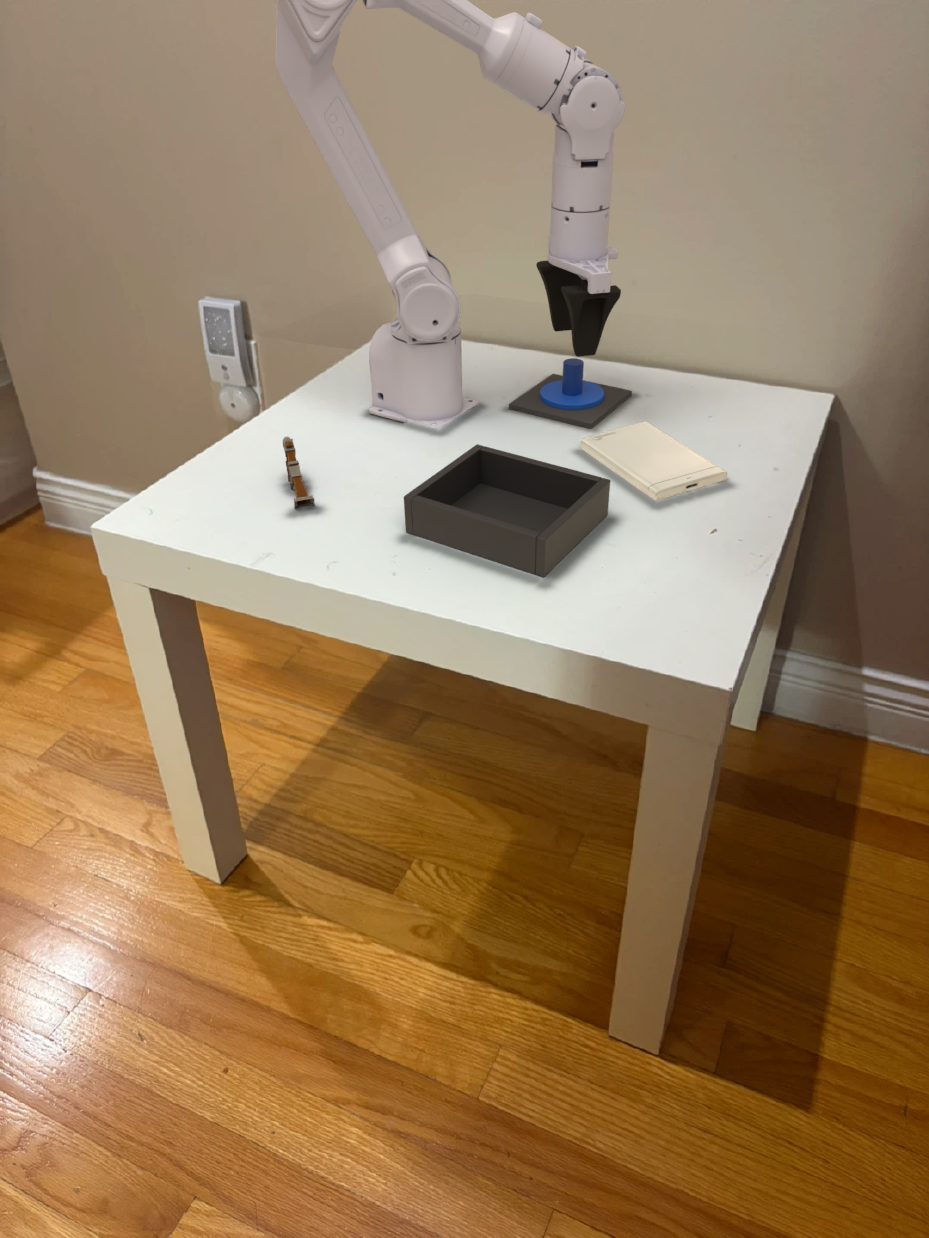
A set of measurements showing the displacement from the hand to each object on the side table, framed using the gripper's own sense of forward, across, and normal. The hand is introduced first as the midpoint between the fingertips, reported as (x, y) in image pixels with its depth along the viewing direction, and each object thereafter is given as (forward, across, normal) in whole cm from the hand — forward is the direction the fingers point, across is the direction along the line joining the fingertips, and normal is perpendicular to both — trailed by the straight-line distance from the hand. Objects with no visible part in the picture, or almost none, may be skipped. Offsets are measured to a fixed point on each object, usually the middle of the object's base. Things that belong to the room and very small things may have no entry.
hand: (573, 342), depth 102 cm
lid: (+6, 0, 0) cm, 6 cm away
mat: (+7, 0, 0) cm, 7 cm away
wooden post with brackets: (+7, -14, +31) cm, 35 cm away
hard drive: (+7, -17, -3) cm, 18 cm away
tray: (+7, -25, +13) cm, 29 cm away
